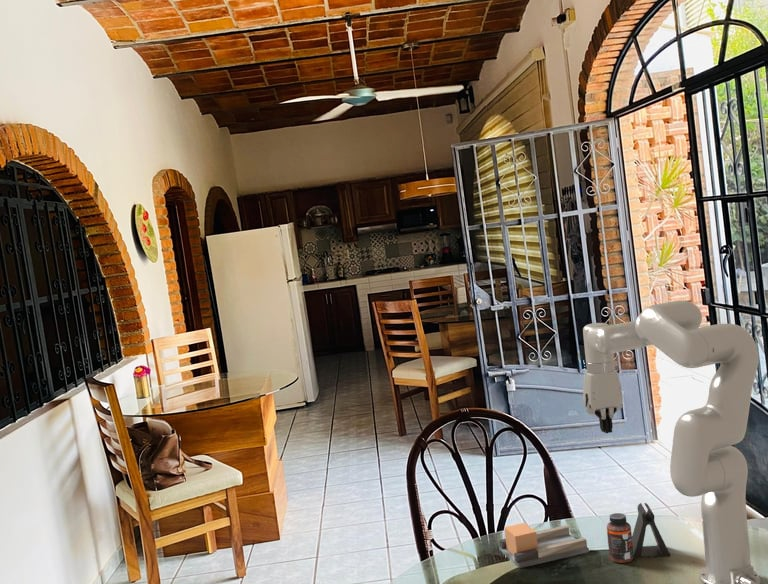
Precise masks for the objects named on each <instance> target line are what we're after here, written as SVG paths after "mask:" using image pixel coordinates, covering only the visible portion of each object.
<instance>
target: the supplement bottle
mask: <svg viewBox="0 0 768 584" xmlns="http://www.w3.org/2000/svg"><path fill="white" fill-rule="evenodd" d="M606 534H607V535H606V536H607V545H608V546H607V547H608V555H609V559H610V560H611V561H613V562H614V563H618V564H627V563H630V562H632V561H633V560H634V559H635V558H634V556H633V555H634V554H633V544H632V535H633V532H632V527H631V524H630V523H629V522H627V515H626V514H624V513H618V512H615V513H611V514H609V522H608V523H607V524H606Z"/></svg>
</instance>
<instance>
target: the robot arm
mask: <svg viewBox="0 0 768 584" xmlns="http://www.w3.org/2000/svg"><path fill="white" fill-rule="evenodd" d="M702 315H703V314H702V311H701V309H700V308H699V307H698V306H697V305H696V304H695V303H693V302H691V301H687V300H673V301H669V302H663V303H662V302H661V303H655V304H653V305H649V306H647V307H646V308H644V309H643V310H642V311H641V313H640V314H638V316H636V320H632V321H626V322H620V323H615V324H609V323H605V322H595V323H589V324H586V325H585V326H584V327H583V328H582V335H583V344H584V355H585V365H586V373H584V374H583V383H582V398H583V405H584V407H585V408H586V411H585V412H586V414H588V415H595V416H596V417H597V418H598V421H599V427H600V429H599V430H600V431H601V432H602V433H605V434H609V433H613V418H614V415H615V413H616V412H617V411H618V410H621V409H623V399H624V398H623V391H622V385H621V381H620V376H619V374H618V371H617V370H616V366H618V365H619V361H618V360H615V358H614V357H615V356H614V354H617V353H621V352H626V351H633V350H637V349H641V348H645V347H648V346H652V345H653V346H654V347H655V348H657V349H658V350H659V351H660V352H662V353H663V354H664V355H665V356H667V357H668V358H670V360H672V361H673V362H675V364H676V365H679V366H681V367H683V368H686V369H687V368H688V369H697V368H702V367H706V366H711V365H712V366H713V365H716V364H720V366H719V367H718V369H717V370H716V372H715V373H714V376H713V377H712V379H711V381H710V383H709V389H708V397H707V401H706V403H705V405H704V406H703V407H700V408H696V409H692V410H689V411H686V412H684V413H682V414H681V415H680V416H679V418H678V420H677V421H676V423H675V425H674V430H673V439H672V447H671V456H670V466H669V470H670V477H671V482H672V484H673V485H674V487H675V489H676V490H677V492H679V493H680V494H681V495H683V496H686V497H692V498H693V497H700V496H701V499H700V500H701V502H700V511H701V514H700V515H701V523H702V533H703V545H704V546H703V547H704V559H705V566H704V567H702V568H701V569H700V571H699V578H700V581H701V580H702V581H703V582H704V583H706V584H761V582H762V579H761V578H760V575H759V573H757V572H756V571H755V570H754V566H753V565H752V561H751V551H750V538H749V528H748V518H747V517H748V516H747V502H746V493H747V492H746V491H747V481H748V474H749V471H748V470H749V468H748V467H749V466H748V462H747V459H746V458H745V456H744V454H743V453H742V452H741V451H740V450H739V449H738V448H737V447H735V446H733V445H737V444H738V443H740V442H742V441H743V440H744V438H745V435H746V432H747V426H748V422H749V421H748V420H749V415H750V414H749V413H750V408H751V407H750V406H751V401H752V400H751V399H752V392H753V387H754V383H755V379H756V375H757V371H758V367H759V352H758V346H757V344H756V342H755V340H754V338H753V336H752V335H751V333H750V332H749V331H747V329H746V328H745V327H742V326H740V325H738V324H734V323H717V324H712V325H706V326H702V327H700V326H701V325H702V321H703V316H702ZM702 581H701V582H702ZM703 582H702V583H703ZM704 583H703V584H704Z"/></svg>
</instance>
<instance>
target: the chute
mask: <svg viewBox="0 0 768 584" xmlns="http://www.w3.org/2000/svg"><path fill="white" fill-rule="evenodd" d="M536 535H537V545H538V548H535V549H531V550H526V551H522V552H518V553H514V555H513V554H512V553H511V552H510V551H508V550H507V548H506V538H503V539H502V538H501V539H499V545H498V549H499V551H500V552H502V553H503V555H505V556H506V558H508V559H509V560H510V561H511V562H512V563H513V564H514V565H515V566H516V567H517V568H518V569H522V568H526V567H530V566H531V567H532V566H534V565H535V566H536V565H539V564H543V563H547V562H551V561H552V562H553V561H556V560H560V559H564V558H569V557H573V556H578V555H581V554H586V553H589V552H590V549H589V547H588V543H587V538H585V537H579V538H575V537H574V536H572V535H571V533H570V527H569V526H568V525H566V524H565V525H561V526H556V527H552V528H548V529H547V528H546V529H542V530H539V531H536Z"/></svg>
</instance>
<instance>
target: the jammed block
mask: <svg viewBox="0 0 768 584" xmlns="http://www.w3.org/2000/svg"><path fill="white" fill-rule="evenodd" d="M536 532H537V531H536V530H534V529H533V528H532V527H531V526H530V525H528V524H527V523H526V522H523V523H518V524H513V525H508V526H504V537H505V538H504V539H506V548H507V550H508V551H510V552H511V553H512V554H513V555H514V553H518V552H522V551H526V550H531V549H535V548H538V545H537V535H536Z"/></svg>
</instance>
